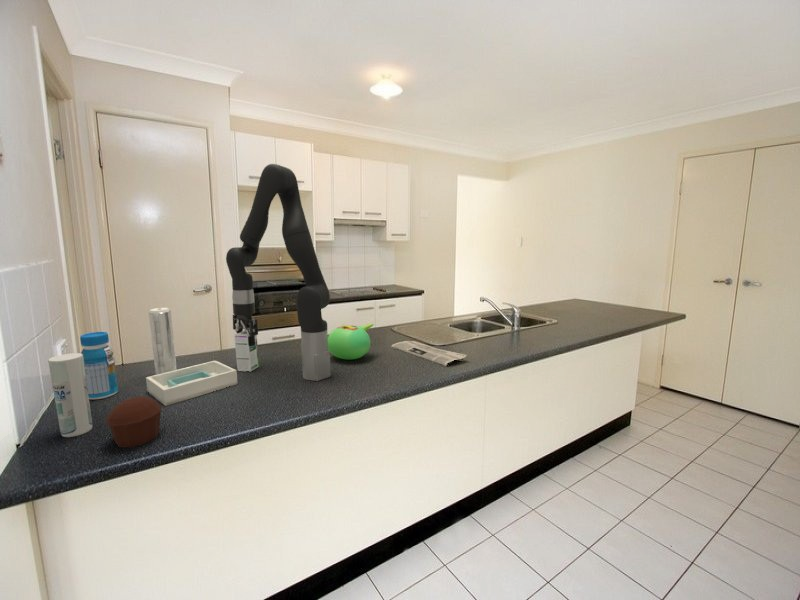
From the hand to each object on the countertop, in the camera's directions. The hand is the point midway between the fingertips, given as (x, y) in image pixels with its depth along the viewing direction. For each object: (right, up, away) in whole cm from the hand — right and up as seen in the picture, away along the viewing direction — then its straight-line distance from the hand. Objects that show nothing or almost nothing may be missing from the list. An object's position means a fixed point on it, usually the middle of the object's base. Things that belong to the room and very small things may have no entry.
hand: (245, 343), depth 140 cm
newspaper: (+71, -8, +20) cm, 74 cm away
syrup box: (0, -10, +2) cm, 10 cm away
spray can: (-25, -18, -44) cm, 54 cm away
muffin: (-7, -18, -47) cm, 51 cm away
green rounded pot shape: (+37, -8, +15) cm, 41 cm away
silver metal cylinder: (-26, -11, -6) cm, 29 cm away
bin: (-11, -13, -17) cm, 23 cm away
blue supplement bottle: (-37, -14, -22) cm, 45 cm away
